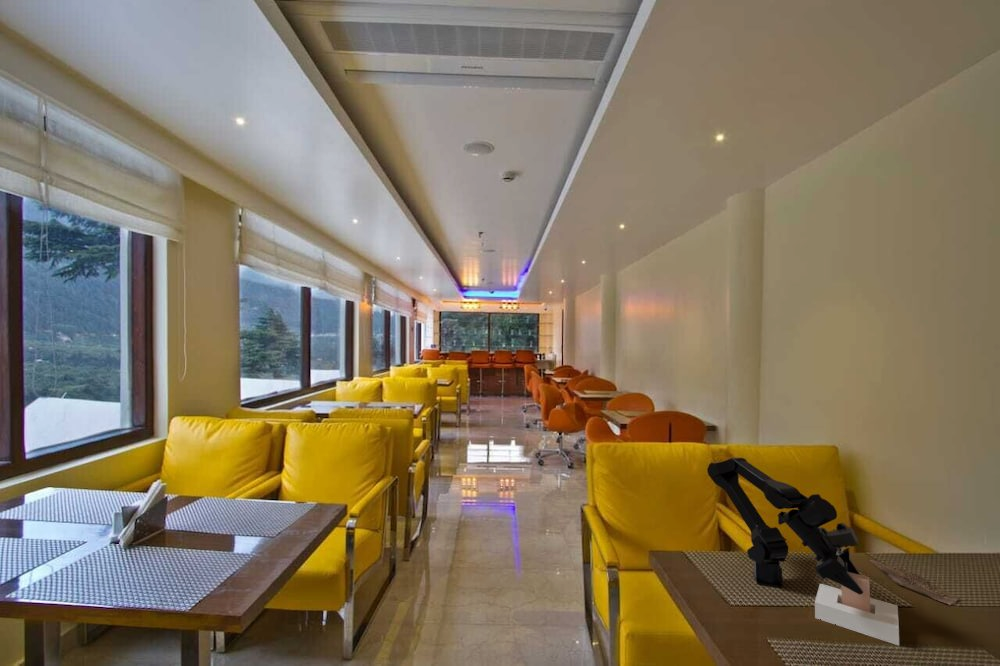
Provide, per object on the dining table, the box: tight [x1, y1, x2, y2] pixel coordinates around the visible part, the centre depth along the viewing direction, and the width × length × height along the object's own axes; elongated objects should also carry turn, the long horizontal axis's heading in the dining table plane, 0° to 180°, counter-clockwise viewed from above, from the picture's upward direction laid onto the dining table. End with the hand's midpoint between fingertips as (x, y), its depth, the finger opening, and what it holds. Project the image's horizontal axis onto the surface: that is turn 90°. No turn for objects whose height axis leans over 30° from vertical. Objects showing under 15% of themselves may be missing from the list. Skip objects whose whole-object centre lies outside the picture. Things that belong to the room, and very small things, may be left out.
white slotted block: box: [814, 583, 900, 646], centre depth 112 cm, size 16×12×4 cm
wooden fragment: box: [869, 559, 959, 607], centre depth 130 cm, size 26×11×1 cm, turn 177°
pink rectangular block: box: [840, 572, 871, 613], centre depth 112 cm, size 6×3×10 cm, turn 49°
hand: (862, 587), depth 111 cm, fingers open, 7 cm apart
